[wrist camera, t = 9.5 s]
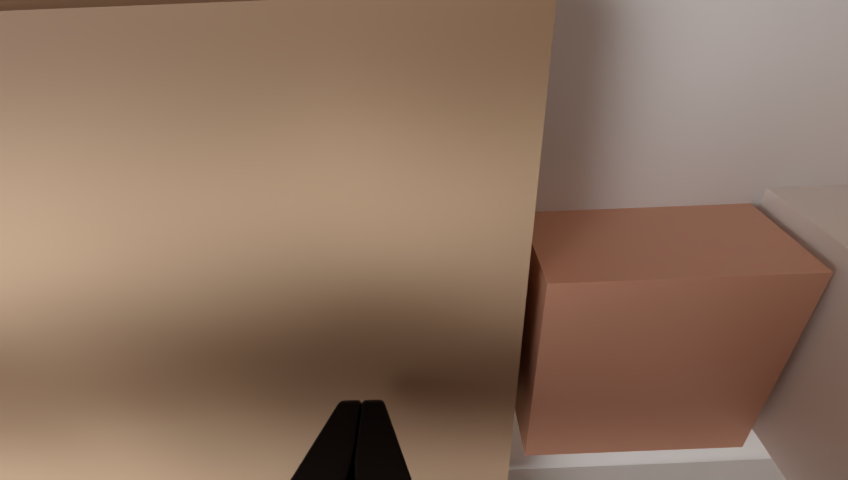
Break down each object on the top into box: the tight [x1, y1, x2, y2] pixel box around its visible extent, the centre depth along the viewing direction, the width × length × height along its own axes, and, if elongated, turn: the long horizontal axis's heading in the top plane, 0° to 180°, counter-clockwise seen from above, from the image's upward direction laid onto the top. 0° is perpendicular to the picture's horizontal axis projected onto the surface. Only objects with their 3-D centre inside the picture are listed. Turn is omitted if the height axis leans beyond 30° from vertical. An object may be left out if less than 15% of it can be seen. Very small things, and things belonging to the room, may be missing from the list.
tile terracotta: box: [515, 203, 834, 456], centre depth 11 cm, size 5×5×2 cm
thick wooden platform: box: [0, 0, 557, 480], centre depth 11 cm, size 14×16×3 cm
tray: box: [508, 0, 848, 480], centre depth 12 cm, size 16×14×2 cm
